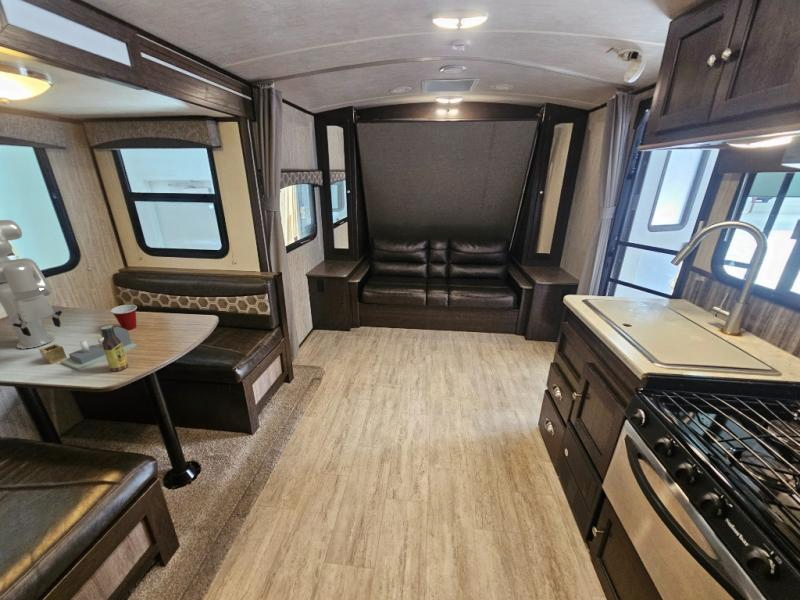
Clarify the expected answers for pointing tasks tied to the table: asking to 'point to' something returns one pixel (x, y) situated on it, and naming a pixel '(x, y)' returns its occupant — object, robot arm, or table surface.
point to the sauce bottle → (113, 349)
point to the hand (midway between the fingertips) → (43, 330)
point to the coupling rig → (96, 351)
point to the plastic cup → (126, 316)
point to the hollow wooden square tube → (53, 353)
